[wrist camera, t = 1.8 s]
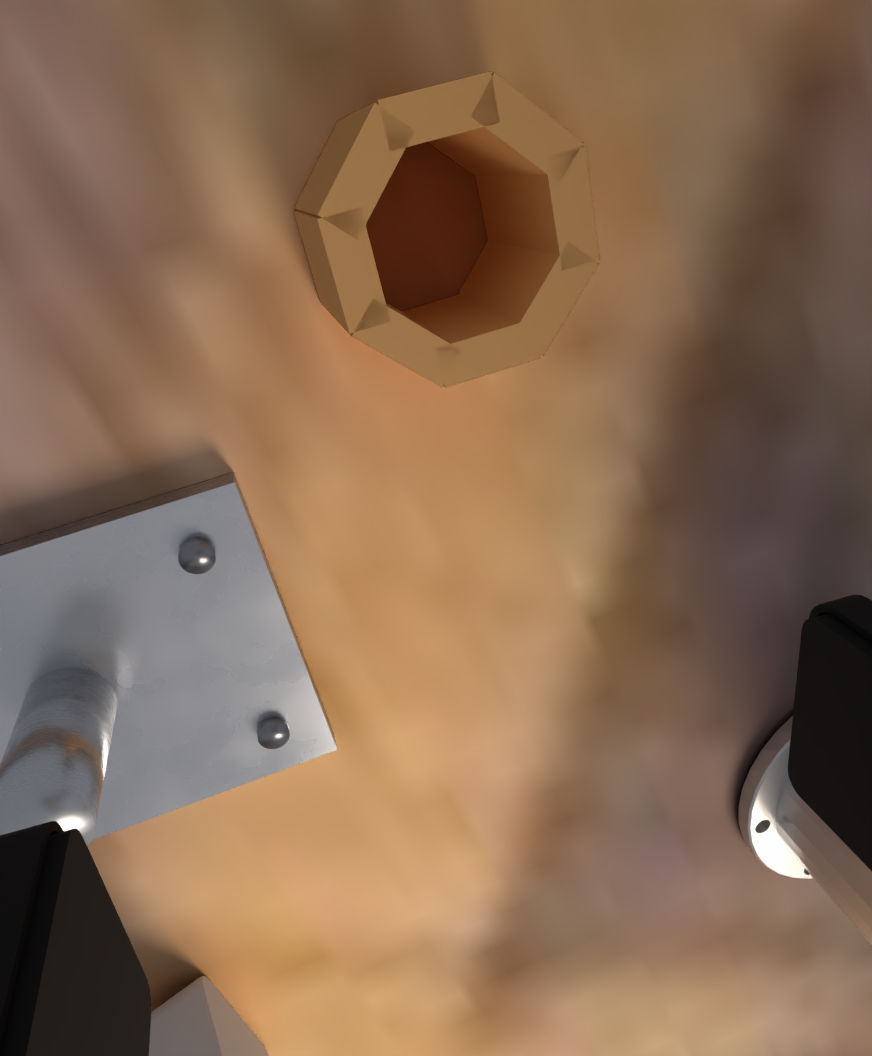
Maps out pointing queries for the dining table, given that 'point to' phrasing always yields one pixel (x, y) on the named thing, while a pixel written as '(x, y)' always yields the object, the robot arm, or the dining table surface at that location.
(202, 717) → the keeper
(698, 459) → the dining table surface
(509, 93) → the tan hollow octagonal block
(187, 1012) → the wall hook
